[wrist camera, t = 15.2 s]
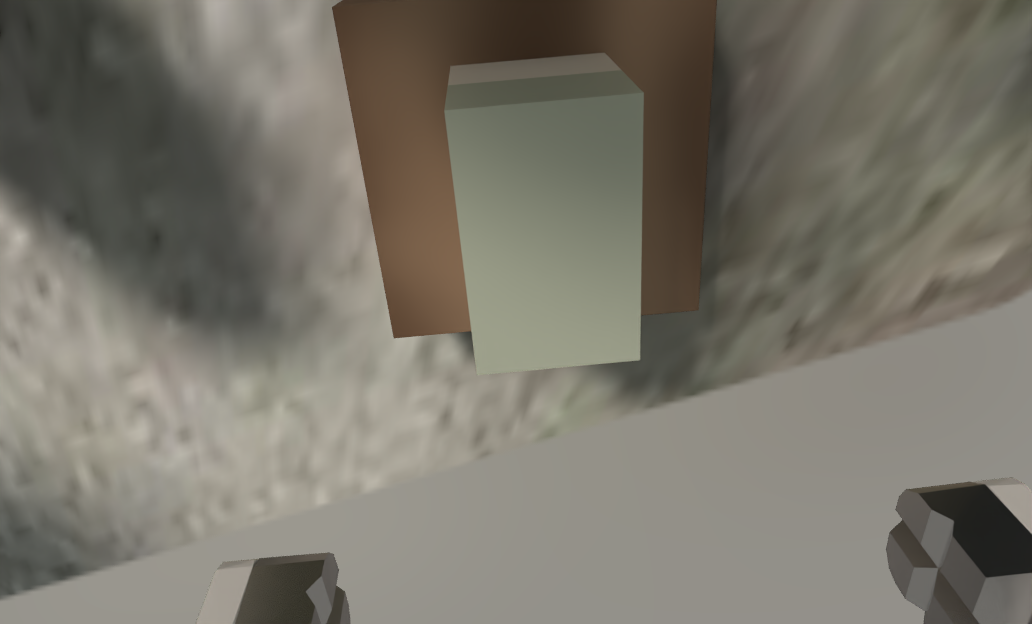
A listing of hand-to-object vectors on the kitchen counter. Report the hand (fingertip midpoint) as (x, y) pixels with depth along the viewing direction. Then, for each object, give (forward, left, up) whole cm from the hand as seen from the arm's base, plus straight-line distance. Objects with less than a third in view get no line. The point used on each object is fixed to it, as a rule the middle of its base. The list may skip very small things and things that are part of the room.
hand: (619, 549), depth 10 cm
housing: (0, 0, -17) cm, 17 cm away
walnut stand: (0, 0, -22) cm, 22 cm away
